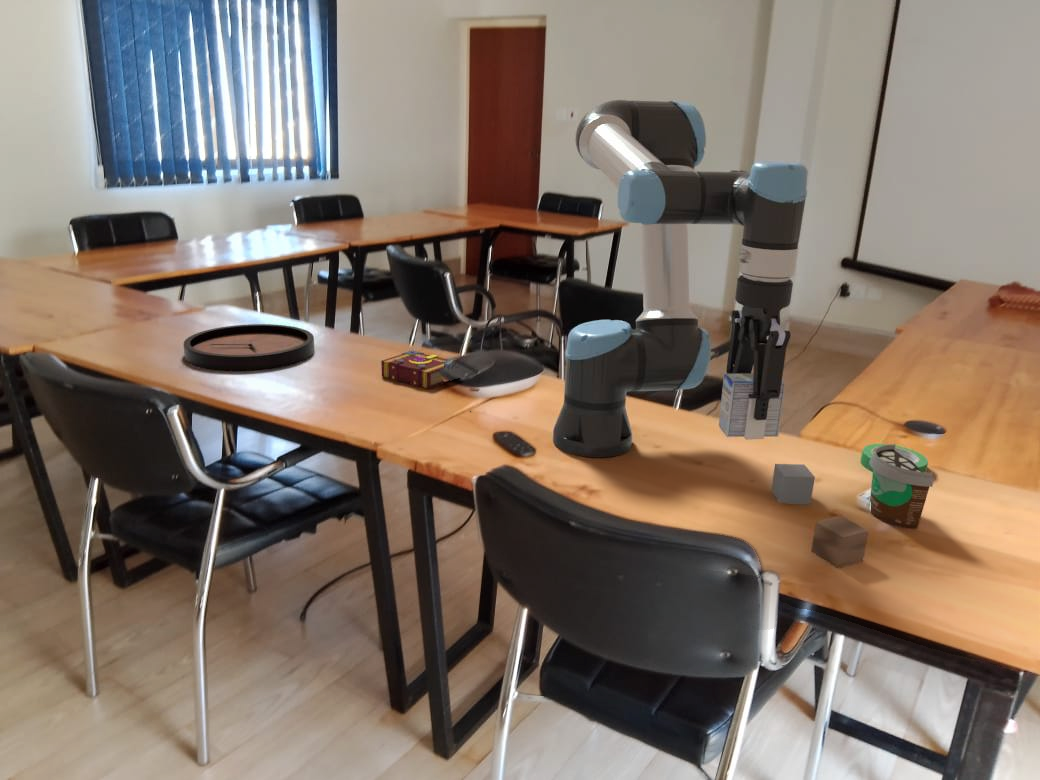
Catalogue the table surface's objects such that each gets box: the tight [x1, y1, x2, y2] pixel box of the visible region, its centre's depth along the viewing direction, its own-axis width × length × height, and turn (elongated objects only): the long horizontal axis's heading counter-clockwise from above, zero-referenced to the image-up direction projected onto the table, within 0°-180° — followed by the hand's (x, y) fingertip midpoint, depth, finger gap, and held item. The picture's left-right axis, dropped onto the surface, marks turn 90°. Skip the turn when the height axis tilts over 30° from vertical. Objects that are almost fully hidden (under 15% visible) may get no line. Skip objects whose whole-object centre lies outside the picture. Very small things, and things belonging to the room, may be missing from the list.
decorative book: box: [380, 349, 453, 390], centre depth 190 cm, size 11×16×5 cm
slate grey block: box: [771, 463, 816, 505], centre depth 134 cm, size 5×5×5 cm
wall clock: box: [183, 323, 316, 373], centre depth 205 cm, size 31×4×31 cm
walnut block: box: [811, 515, 869, 569], centre depth 116 cm, size 5×5×5 cm
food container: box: [869, 443, 934, 530], centre depth 128 cm, size 12×6×10 cm, turn 4°
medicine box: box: [718, 372, 786, 438], centre depth 119 cm, size 8×4×9 cm, turn 94°
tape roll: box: [860, 443, 929, 473], centre depth 148 cm, size 11×11×3 cm
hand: (745, 431), depth 120 cm, fingers closed on medicine box, 5 cm apart
